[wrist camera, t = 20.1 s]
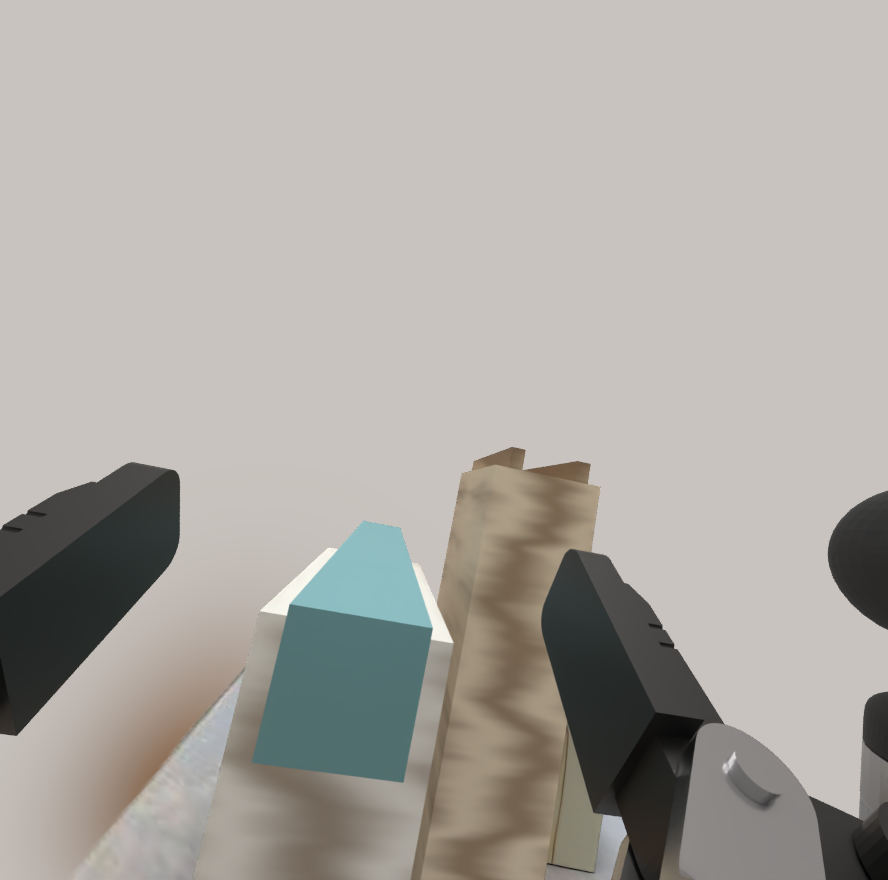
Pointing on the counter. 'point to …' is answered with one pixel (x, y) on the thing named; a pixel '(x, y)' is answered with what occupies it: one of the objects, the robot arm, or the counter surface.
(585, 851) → the skincare box
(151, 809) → the counter surface
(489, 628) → the stepped wooden blocks
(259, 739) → the rod
